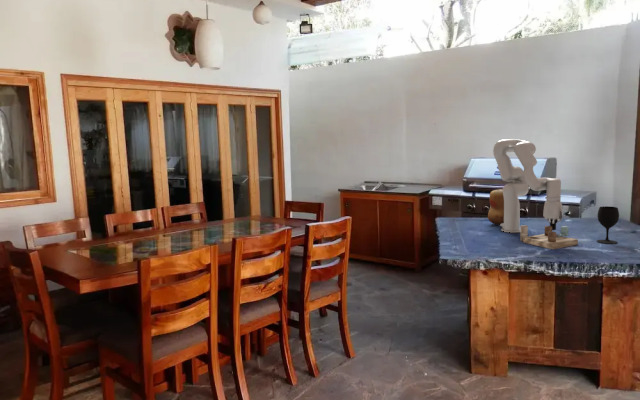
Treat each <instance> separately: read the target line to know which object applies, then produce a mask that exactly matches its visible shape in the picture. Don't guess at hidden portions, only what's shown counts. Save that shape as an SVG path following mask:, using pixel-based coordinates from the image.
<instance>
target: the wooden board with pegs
mask: <svg viewBox="0 0 640 400" xmlns="http://www.w3.org/2000/svg"><path fill="white" fill-rule="evenodd" d="M556 234H557V232H556V231H553V230H552V226H550V225H545V226H544V233H543V234H535V235H529V236H528V237H523V241H522V243H524V244H529V245H532V246H538V247H541V248H546V249H550V250H557V249H561V248H567V247H571V246H573V247H574V246H577V245H579V244H578V243H579V239H578V238H574V237H572V238H571V237H568V236H561V237H556Z"/></svg>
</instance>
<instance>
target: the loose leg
mask: <svg viewBox="0 0 640 400" xmlns="http://www.w3.org/2000/svg"><path fill="white" fill-rule="evenodd" d="M519 228H520V232H519V236H520V240H519V241H520V242H523V237H529V236H528V235H529V234H528V233H529V232H528V231H529V226H528V225H526V224H523V225H522V224H521V225H519Z"/></svg>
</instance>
